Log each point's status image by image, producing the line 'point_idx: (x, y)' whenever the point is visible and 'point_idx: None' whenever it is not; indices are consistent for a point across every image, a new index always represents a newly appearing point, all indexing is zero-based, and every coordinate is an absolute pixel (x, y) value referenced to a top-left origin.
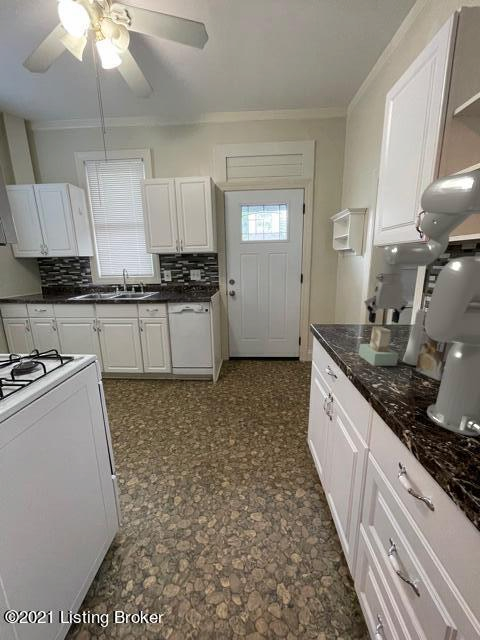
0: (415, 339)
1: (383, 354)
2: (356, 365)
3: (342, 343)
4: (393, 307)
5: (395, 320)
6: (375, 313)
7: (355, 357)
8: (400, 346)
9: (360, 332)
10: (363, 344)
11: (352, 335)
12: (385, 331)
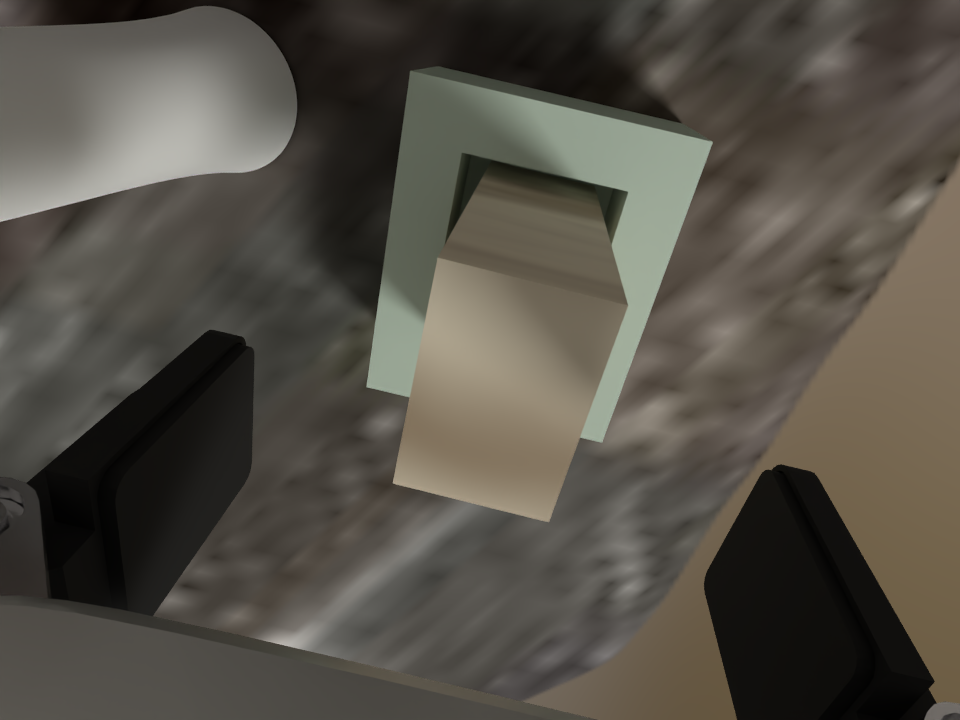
0: (70, 66)
1: (606, 115)
2: (845, 181)
3: (524, 598)
4: (299, 702)
5: (230, 402)
6: (898, 669)
7: (675, 341)
8: (67, 423)
9: None
10: None
11: None
12: (543, 281)
